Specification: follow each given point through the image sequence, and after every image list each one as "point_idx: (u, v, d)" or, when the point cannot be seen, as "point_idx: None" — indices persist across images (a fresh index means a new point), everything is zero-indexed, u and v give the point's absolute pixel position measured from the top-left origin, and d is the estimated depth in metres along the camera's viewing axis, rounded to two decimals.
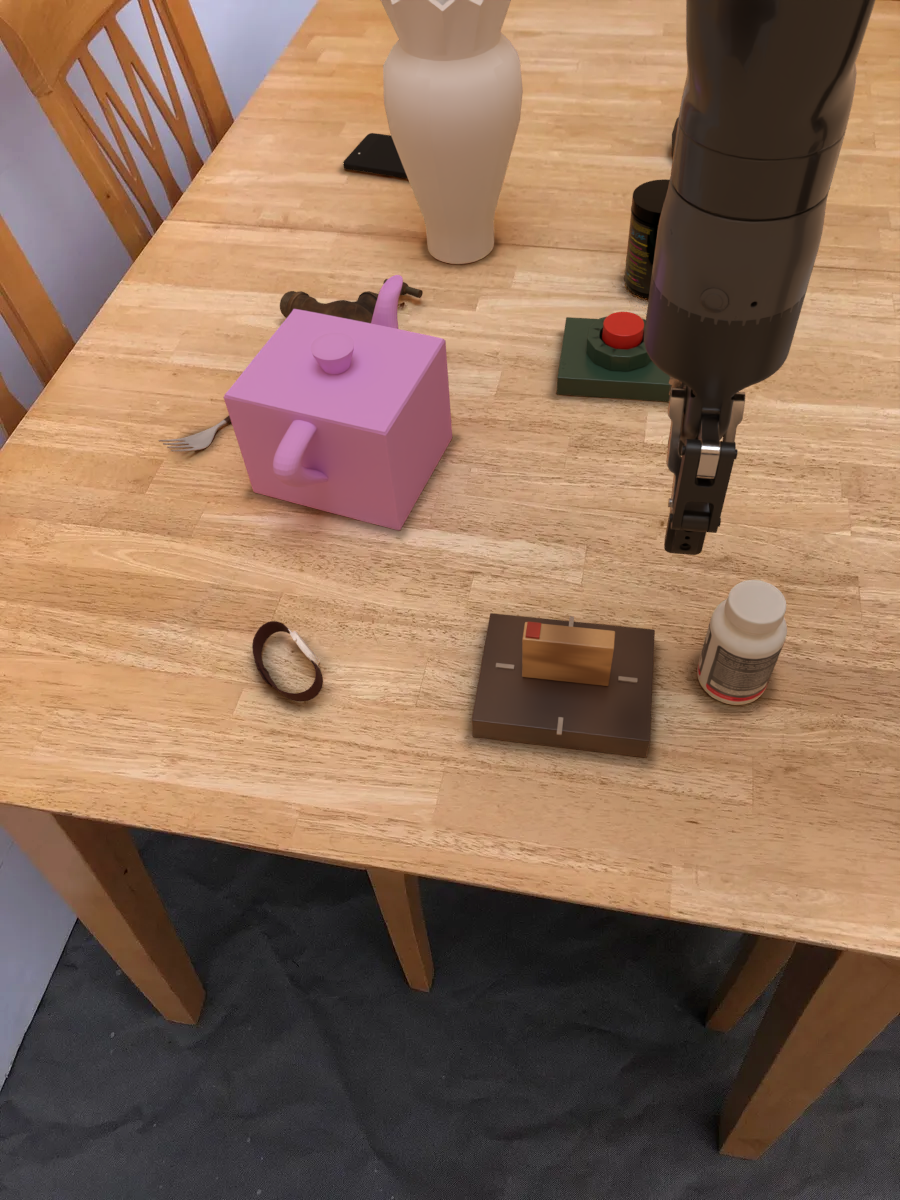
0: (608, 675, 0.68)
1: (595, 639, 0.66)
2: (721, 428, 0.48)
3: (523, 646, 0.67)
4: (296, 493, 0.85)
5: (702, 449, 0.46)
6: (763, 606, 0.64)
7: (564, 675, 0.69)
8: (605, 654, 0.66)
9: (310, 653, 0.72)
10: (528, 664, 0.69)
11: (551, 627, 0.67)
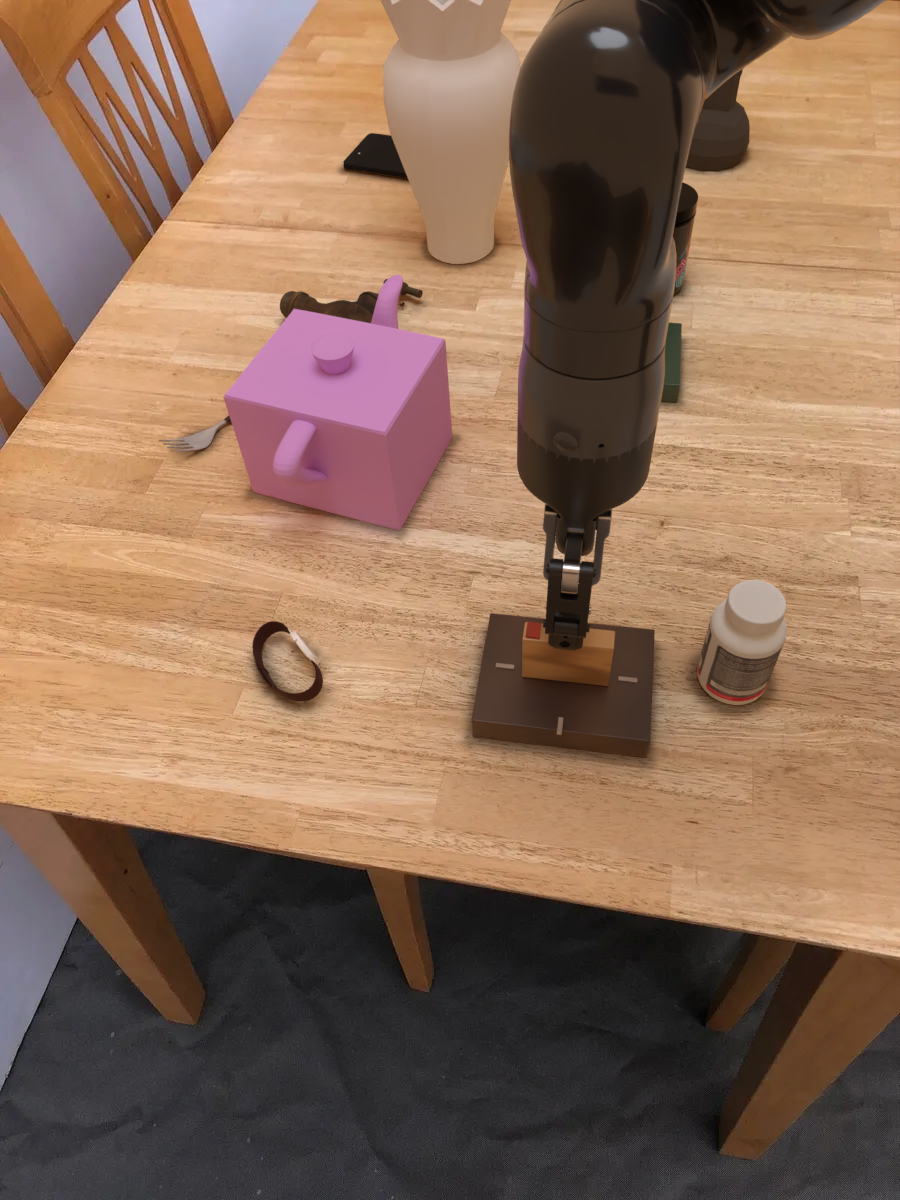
0: (608, 675, 0.68)
1: (595, 639, 0.66)
2: (585, 546, 0.52)
3: (523, 646, 0.67)
4: (296, 493, 0.85)
5: (563, 569, 0.50)
6: (763, 606, 0.64)
7: (564, 675, 0.69)
8: (605, 654, 0.66)
9: (310, 653, 0.72)
10: (528, 664, 0.69)
11: None
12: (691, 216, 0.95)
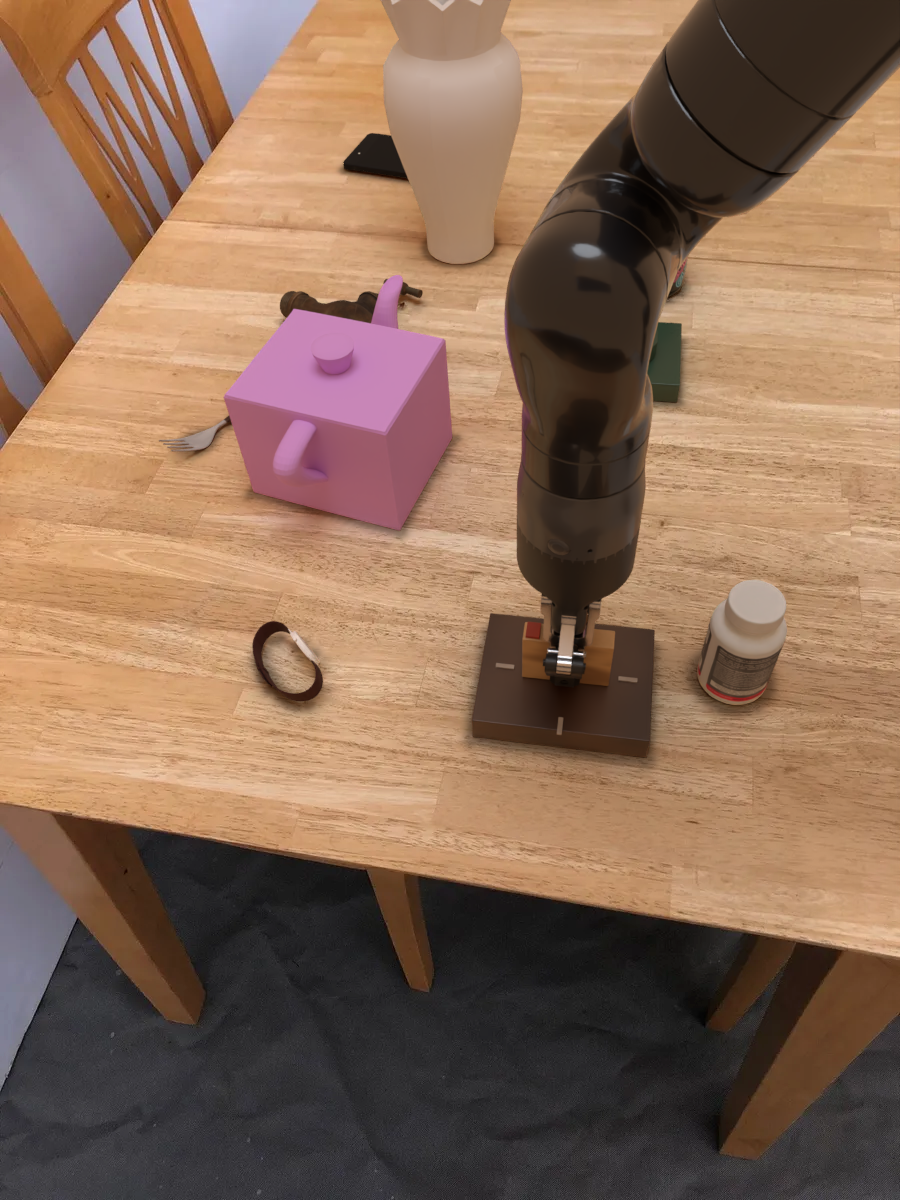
0: (608, 675, 0.68)
1: (595, 639, 0.66)
2: (577, 630, 0.58)
3: (523, 646, 0.67)
4: (296, 493, 0.85)
5: (557, 669, 0.59)
6: (763, 606, 0.64)
7: None
8: (605, 654, 0.66)
9: (310, 653, 0.72)
10: (528, 664, 0.69)
11: None
12: None
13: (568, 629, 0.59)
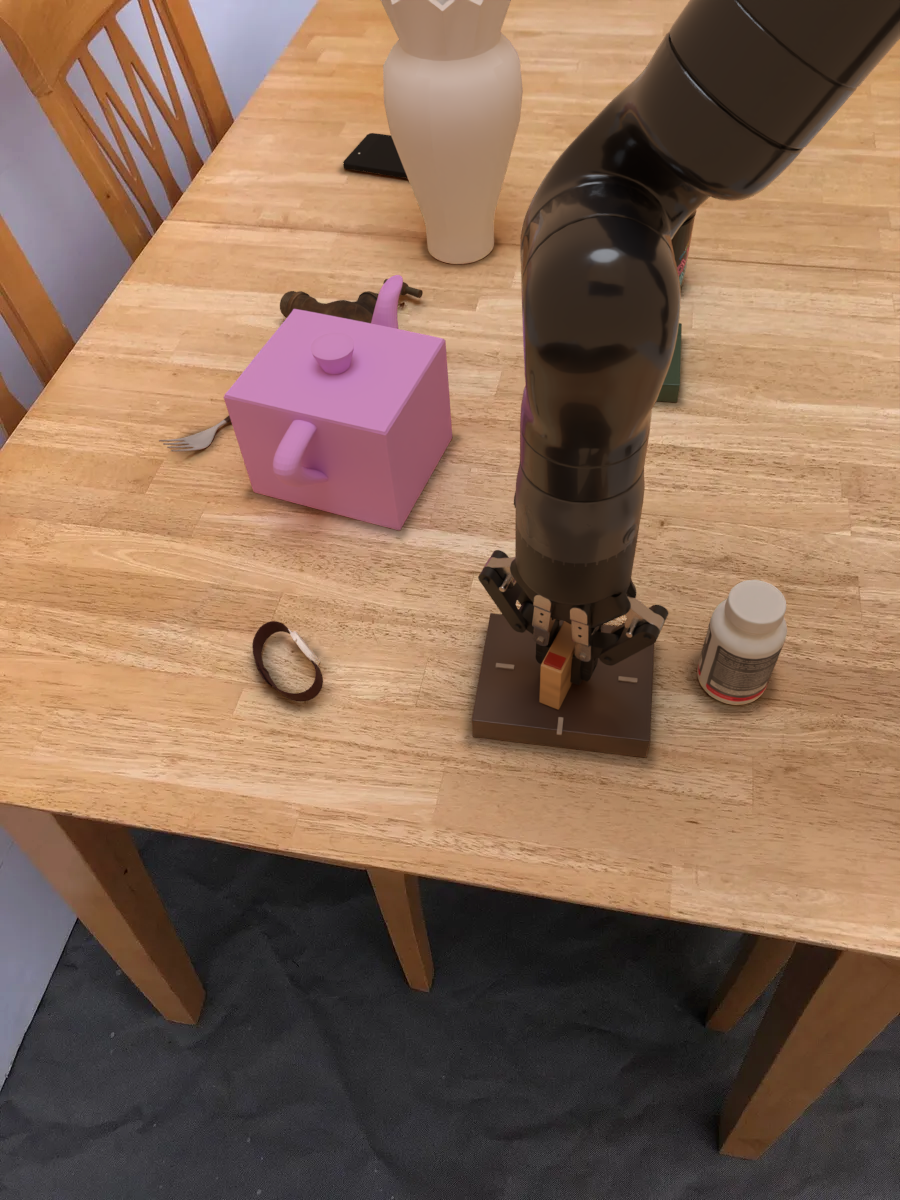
0: None
1: None
2: (636, 593, 0.60)
3: (560, 679, 0.65)
4: (296, 493, 0.85)
5: (659, 629, 0.60)
6: (763, 606, 0.64)
7: None
8: None
9: (310, 653, 0.72)
10: (562, 692, 0.67)
11: (555, 645, 0.66)
12: (691, 216, 0.95)
13: (631, 601, 0.60)
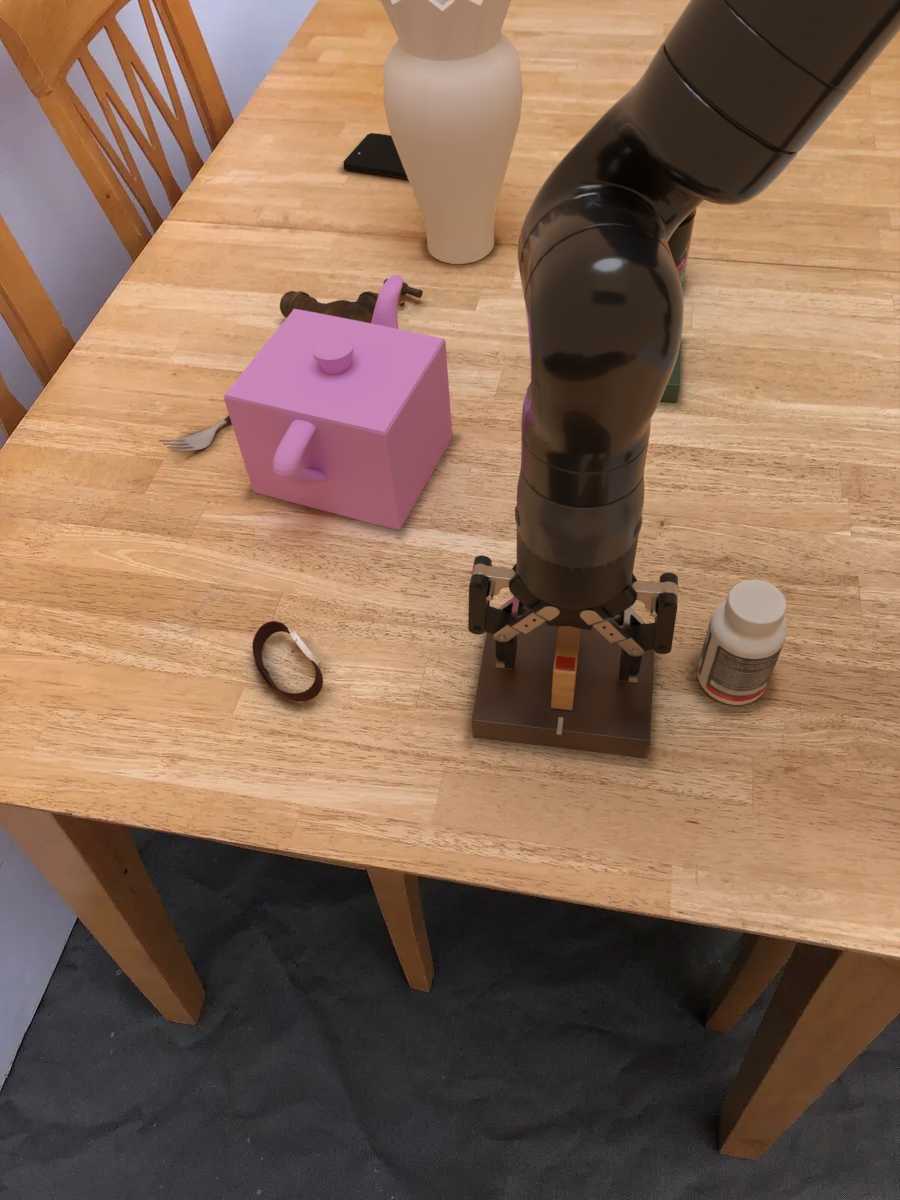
0: None
1: None
2: None
3: (574, 680, 0.65)
4: (296, 493, 0.85)
5: (674, 593, 0.60)
6: (763, 606, 0.64)
7: None
8: None
9: (310, 653, 0.72)
10: None
11: (560, 648, 0.65)
12: (691, 216, 0.95)
13: None
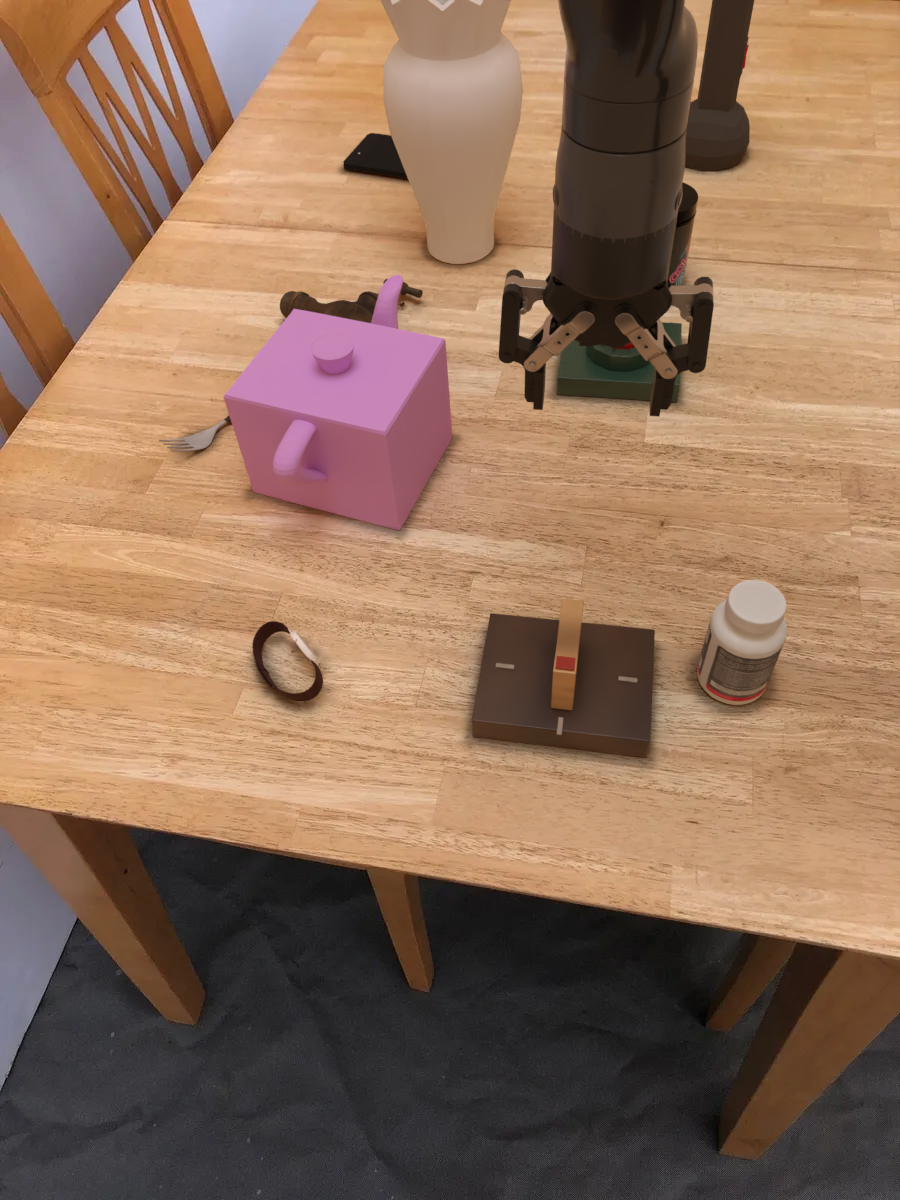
0: None
1: (573, 614, 0.67)
2: None
3: (574, 680, 0.65)
4: (296, 493, 0.85)
5: (710, 293, 0.60)
6: (763, 606, 0.64)
7: None
8: None
9: (310, 653, 0.72)
10: None
11: (560, 648, 0.65)
12: (691, 216, 0.95)
13: None
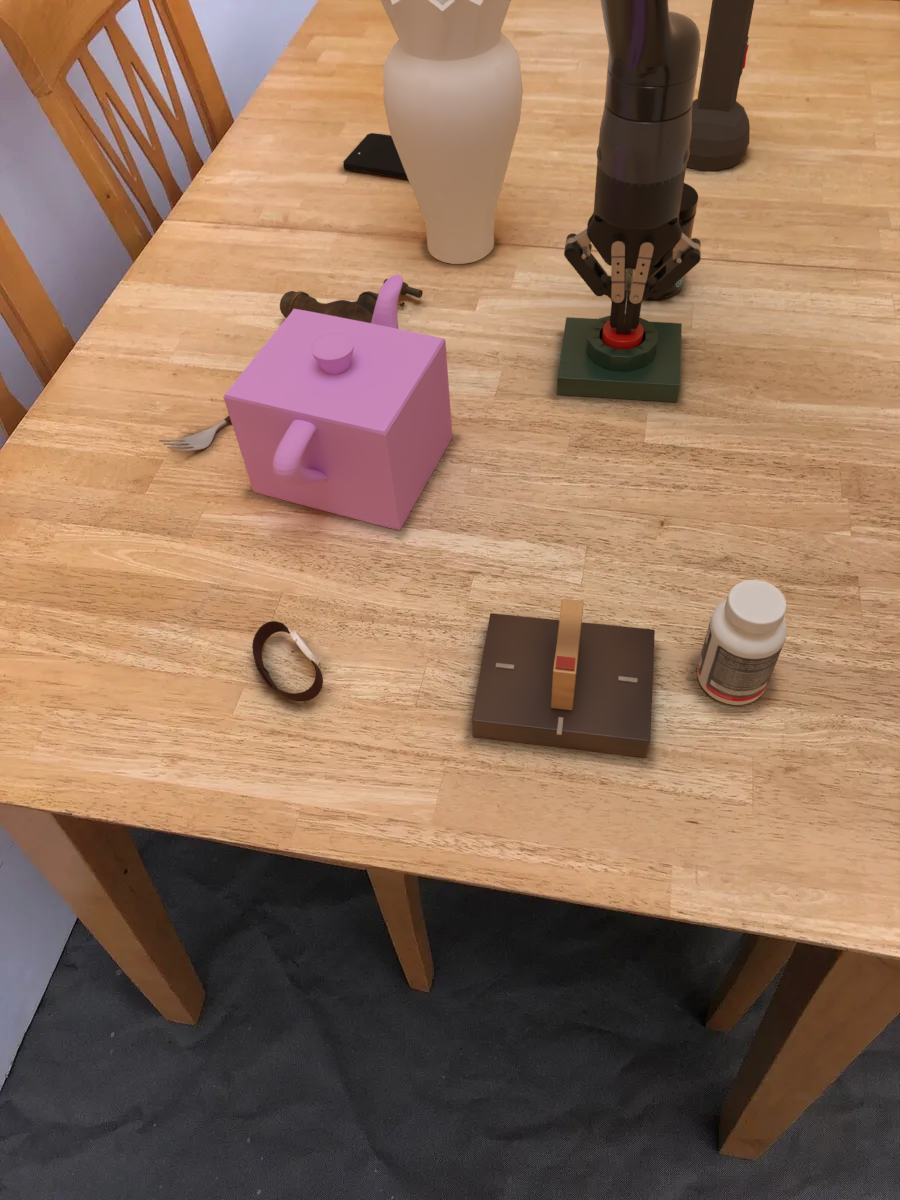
0: None
1: (573, 614, 0.67)
2: None
3: (574, 680, 0.65)
4: (296, 493, 0.85)
5: (700, 252, 0.84)
6: (763, 606, 0.64)
7: None
8: None
9: (310, 653, 0.72)
10: None
11: (560, 648, 0.65)
12: (691, 216, 0.95)
13: None
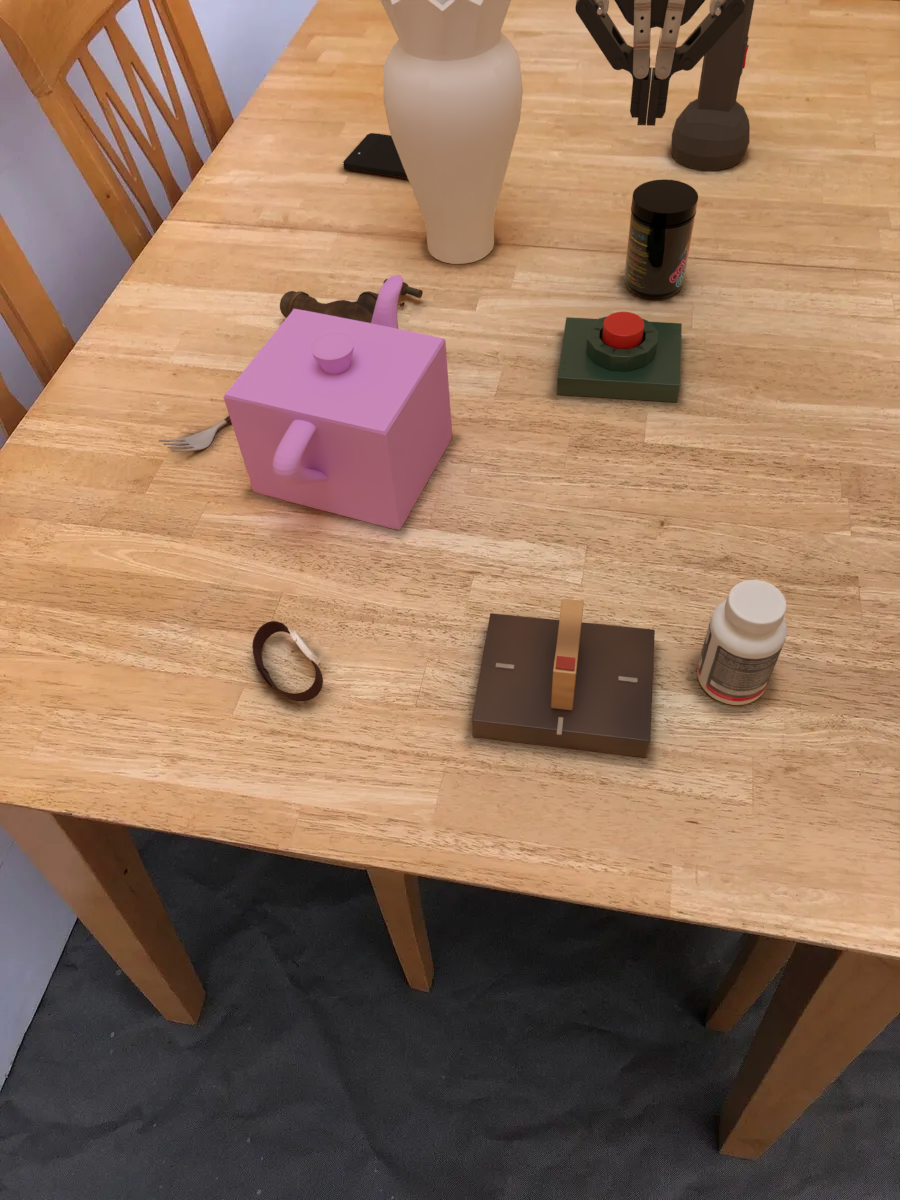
0: None
1: (573, 614, 0.67)
2: None
3: (574, 680, 0.65)
4: (296, 493, 0.85)
5: (743, 1, 0.68)
6: (763, 606, 0.64)
7: None
8: None
9: (310, 653, 0.72)
10: None
11: (560, 648, 0.65)
12: (691, 216, 0.95)
13: None
